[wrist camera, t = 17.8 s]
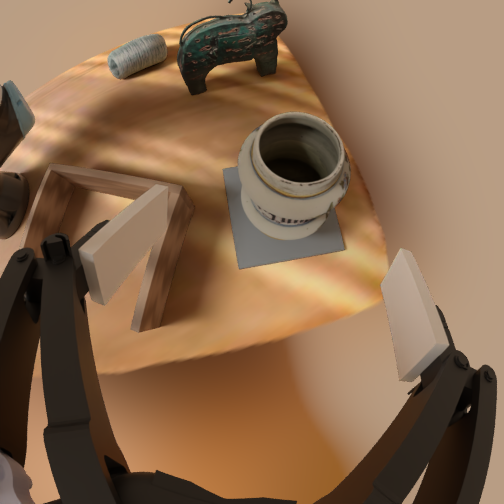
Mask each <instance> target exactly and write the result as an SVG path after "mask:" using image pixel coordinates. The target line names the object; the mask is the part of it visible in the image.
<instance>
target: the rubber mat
mask: <svg viewBox="0 0 504 504" xmlns="http://www.w3.org/2000/svg"><path fill="white" fill-rule="evenodd" d="M223 175H224V181H225V188H226V194H227V200H228V206H229V213H230V219H231V225H232V231H233V237H234V243H235V249H236V255H237V261H238V267H239V269H244V268H250V267H255V266H261V265H267V264H272V263H278V262H283V261H289V260H295V259H300V258H305V257H311V256H316V255H322V254H327V253H332V252H338V251H343V250H345V249H344V244H343V240H342V236H341V231H340V227H339V223H338V219H337V215H336V211H335V208H333V209H332V210H331V211H330V214H329V216H328V218H327V220H326V221H325V223H324V224H323V225H322V226H321V227H320V228H319V229H318V230H317V231H316V232H314V233H313V234H311V235H309V236H307V237H304V238H301V239H296V240H278V239H274V238H271V237H269V236H267V235H265V234H264V233H262V232H261V231H260V230H259V229H257V228H256V227H255V226H254V225H253V224H252V222H251V221H250V220H249V218H248V217H247V215H246V213H245V211H244V209H243V205H242V201H241V189H242V183H241V181H240V178H239V173H238V166H237V167H231V168H226V169H223Z"/></svg>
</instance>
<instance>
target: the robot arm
mask: <svg viewBox="0 0 504 504" xmlns="http://www.w3.org/2000/svg"><path fill="white" fill-rule="evenodd" d="M34 123H35V117H34V114H33V113H32V111H31V109H30V107H29V106H28V104H27V102H26V101H25V99H24V98H23V96H22V94H21V93H20V91H19V90H18V88H17V87H16V86H15V84H14V83H13V82H12V81H11V80H10V81H7V82H6V83H4V85H3V87H2V86H1V85H0V167H1V166H2V165H3V164H4V162H5V161H6V160H7V158H8V157H9V156H10V155H11V153H12V152H13V151H14V150H15V148H16V147H17V146H18V145H19V144H20V143H21V141H22V140H23V139H24V138H25V136H26V135H27V134H28V132H29V131H30V130H31V129H32V127H33V126H34ZM28 199H29V185H28V182H27V180H26V178H25V177H23V176H22V175H20V174H18V173H14V172H4V171H0V239H7V238H9V237H10V236H11V235H12V234H13V233H14V232H15V231H16V230H17V228H18V227H19V225H20V223H21V221H22V219H23V217H24V214H25V211H26V208H27V204H28ZM167 205H168V186H163V185H158V184H156V185H154V186H153V187H152V188H150V189H149V190H148V191H146V192H145V193H144V194H143V195H141V196H140V197H139V198H137V199H136V200H135V201H134V202H132V203H131V204H130V205H129V206H127V207H126V208H125V209H124V210H123V211H121V212H120V213H119V214H118V215H117V216H115V217H114V218H113V219H112V220H111V221H109V220H105V221H103V222H101V223H99V224H97V225H96V226H95V227H94V228H92V229H91V231H89V232H88V233H87V234H86V235H85V236H83V237H82V238H81V239H80V240H79V241H78V242H76V243H75V244H74V245H73V246H72V247H70V242H69V238H68V236H67V235H66V234H63V233H55V234H52V235H49V236H48V237H46V238H45V239H44V240H43V241H42V242H41V244H40V247H41V250H42V254H43V257H44V258H36V256H35V253H34V250H33V249H32V248H28V247H27V248H22V249H19V250H18V251H16V252H15V253H14V254H13V255H12V257H11V259H10V260H9V262H8V264H7V266H6V268H5V270H4V272H3V274H2V276H1V278H0V504H35V503H34V502H33V500H32V498H31V496H30V492H29V489H31V487H32V481H31V479H30V477H29V476H28V475H27V474H26V472H25V470H24V465H25V458H26V449H27V424H28V409H29V398H30V390H31V382H32V375H33V369H34V363H35V358H36V353H37V348H38V343H39V339H40V348H41V368H42V379H43V390H44V398H45V405H46V412H47V417H48V426H47V427H46V428H45V429H44V433H43V435H44V443H45V448H46V452H47V456H48V460H49V463H50V467H51V471H52V474H53V477H54V480H55V483H56V487H57V489H58V492H59V495H60V499H57V500H54V501H51V502H48V503H44V504H296V503H297V501H292V500H280V499H271V498H264V497H262V498H245V499H225V498H222V497H219V496H217V495H215V494H213V493H211V492H209V491H207V490H205V489H203V488H201V487H199V486H198V485H195V484H194V483H192V482H190V481H187V480H184V479H181V478H178V477H174V476H172V475H169V474H165V473H163V472H160V471H158V470H156V472H155V473H152V472H133V473H131V472H130V470H129V467H128V465H127V462H126V460H125V458H124V455H123V454H122V452H121V450H120V448H119V446H118V444H117V443H116V440H115V437H114V434H113V431H112V428H111V425H110V422H109V418H108V415H107V412H106V408H105V404H104V401H103V397H102V393H101V389H100V385H99V380H98V376H97V371H96V367H95V362H94V356H93V351H92V345H91V339H90V332H89V325H88V317H87V308H86V300H85V297H84V296H85V295H86V293H87V292H88V291H89V293H90V296H91V299H92V300H93V301H95V302H97V303H99V304H102V305H104V306H105V305H106V304H107V303H108V301H109V300H110V299H111V297H112V296H113V295H114V293H115V292H116V291H117V289H118V288H119V287H120V286H121V284H122V283H123V282H124V280H125V279H126V278H127V277H128V275H129V274H130V273H131V272H132V270H133V269H134V268H135V267H136V265H137V264H138V263H139V262H140V260H141V259H142V258H143V257H144V256H145V254H146V253H147V252H148V251H149V250H150V248H151V247H152V246H153V245H154V244H155V243H156V241H157V240H158V239H159V238H160V237H161V236H162V234H163V233H164V232H165V231H166V230H167ZM380 286H381V290H382V294H383V298H384V303H385V307H386V311H387V316H388V320H389V324H390V329H391V334H392V340H393V345H394V351H395V356H396V362H397V369H398V375H399V381H407V382H412V381H414V380H415V379H416V378H417V377H418V376H419V375H420V376H421V382H420V383H419V384H418V385H417V386H415V387H414V388H413V389H412V390H411V391H410V392H408V395H409V394H410V393H412V394H411V396H410V397H409V399H408V400H407V402H406V403H405V405H404V406H403V408H402V409H401V411H400V412H399V414H398V415H397V416H396V418H395V420H394V421H393V422H392V423H391V425H390V426H389V427H388V429H387V430H386V431H385V433H384V434H383V435H382V437H381V438H380V439H379V440H378V442H377V443H376V444H375V445H374V447H373V448H372V449H371V450H370V452H369V453H368V454H367V455H366V456H365V457H364V459H363V460H362V461H361V462H360V463H359V464H358V465H357V466H356V467H355V469H354V470H353V471H352V472H351V473H350V474H349V475H348V476H347V477H346V478H345V479H344V480H343V481H342V482H341V483H340V484H339V485H338V486H337V487H336V488H335V489H334V490H333V491H332V492H330V493H329V494H328V495H326V496H324V497H323V498H321V499H319V500H318V501H316V502H315V503H314V504H402V502H403V501H404V499H405V498H406V496H407V495H408V494H409V492H410V491H411V489H412V488H413V486H414V485H415V483H416V482H417V480H418V479H419V477H420V476H421V474H422V472H423V471H424V469H425V468H426V466H427V464H428V463H429V464H428V467H427V469H426V472H425V475H424V478H423V480H422V483H421V485H420V488H419V490H418V493H417V495H416V497H415V499H414V501H413V504H479V502H480V498H481V495H482V491H483V488H484V484H485V479H486V476H487V471H488V467H489V462H490V456H491V450H492V444H493V436H494V428H495V416H496V400H497V378H496V375H495V372H494V370H493V369H492V368H491V367H490V366H488V365H483V366H482V367H481V368H480V369H479V370H475V369H473V368H471V367H470V365H469V361H468V359H467V357H466V356H465V355H464V354H463V353H462V352H460V351H458V350H456V349H455V346H454V343H453V340H452V337H451V334H450V331H449V329H448V326H447V323H446V321H445V318H444V315H443V313H442V311H441V310H440V309H439V307H438V306H437V305H435V304H434V301H433V299H432V296H431V294H430V292H429V289H428V287H427V285H426V282H425V280H424V277H423V275H422V273H421V271H420V269H419V266H418V264H417V263H416V260H415V258H414V256H413V254H412V252H411V251H408V250H406V249H403V248H400V250H399V252H398V254H397V255H396V257H395V259H394V261H393V263H392V265H391V267H390V268H389V270H388V272H387V274H386V276H385V277H384V279H383V281H382V283H381V284H380ZM470 406H471V408H470V411H469V412H468V413H467V408H468V407H470Z"/></svg>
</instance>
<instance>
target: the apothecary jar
mask: <svg viewBox="0 0 504 504" xmlns="http://www.w3.org/2000/svg"><path fill="white" fill-rule="evenodd" d="M238 173H239V178H240V181H241V183H242V189H241V201H242V205H243V209H244V211H245V213H246V215H247V217H248V218H249V220H250V221H251V222H252V224H253V225H254V226H255V227H256V228H257V229H259V230H260V231H261V232H262V233H264V234H265V235H267V236H269V237H271V238H274V239H278V240H296V239H301V238H304V237H307V236H309V235H311V234H313V233H314V232H316V231H317V230H318V229H319V228H320V227H321V226H322V225H323V224H324V223H325V221H326V220H327V218H328V216H329V214H330V211H331V210H332V209H333V208H334V207H335V206H336V205H337V204H338V203H339V202H340V201H341V200H342V198H343V197H344V195H345V193H346V191H347V189H348V186H349V182H350V175H351V168H350V162H349V158H348V155H347V153H346V151H345V149H344V147H343V143H342V141H341V138H340V136H339V135H338V133H337V132H336V131H335V130H334V128H333V127H332V126H330V125H329V124H328V123H327V122H325V121H324V120H322V119H320V118H318V117H316V116H314V115H311V114H307V113H302V112H287V113H282V114H279V115H276V116H274V117H272V118H270V119H269V120H267V121H266V122H265V123H264V124H262V125H261V126H259V127H258V128H256V129H255V130H254V131H253V132H252V133H251V134H250V135H249V136H248V137H247V138H246V140H245V141H244V143H243V145H242V147H241V150H240V153H239V157H238Z"/></svg>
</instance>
